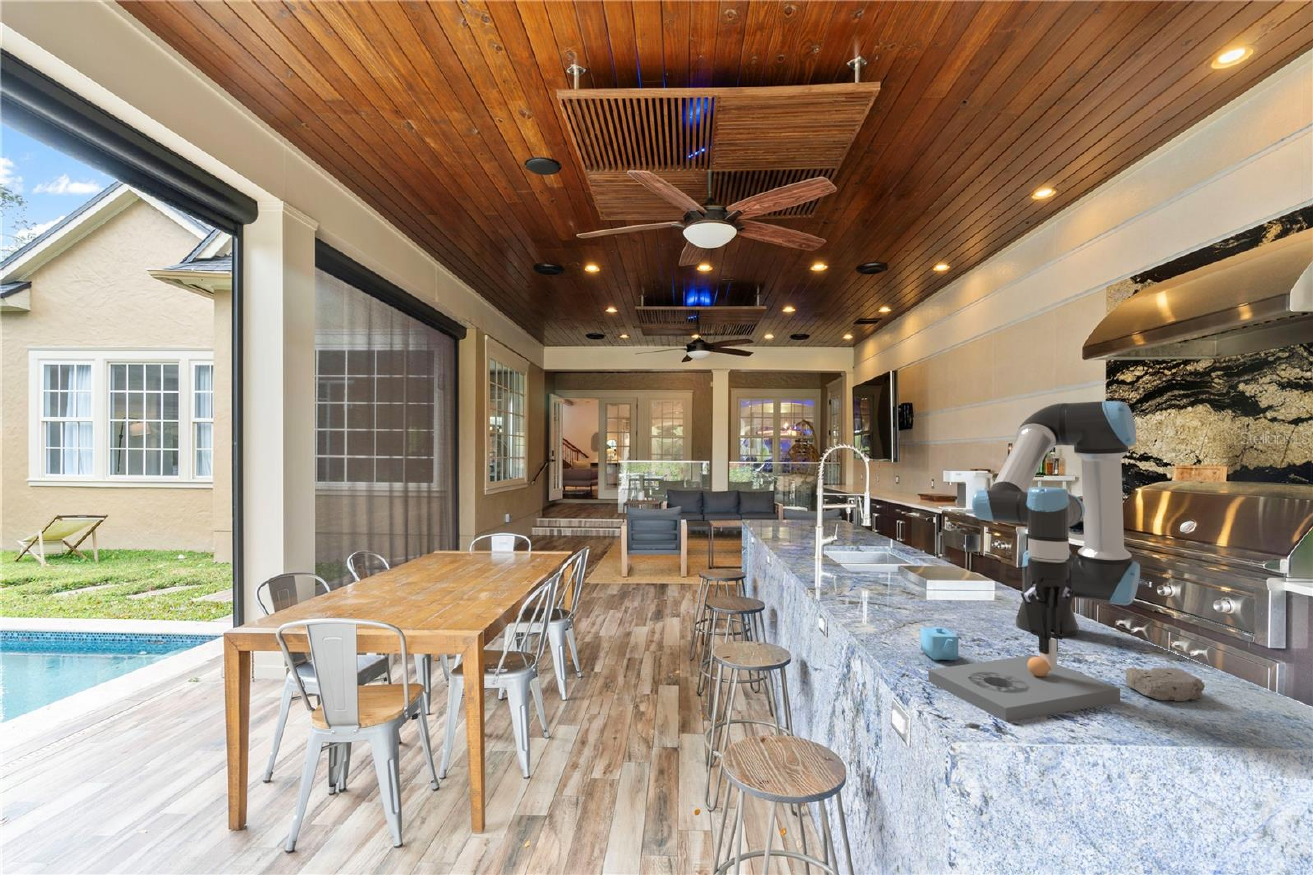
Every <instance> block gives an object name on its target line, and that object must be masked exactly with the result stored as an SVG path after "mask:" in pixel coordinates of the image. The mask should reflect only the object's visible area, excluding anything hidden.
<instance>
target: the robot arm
mask: <svg viewBox="0 0 1313 875" xmlns="http://www.w3.org/2000/svg"><path fill="white" fill-rule="evenodd" d="M1015 441H1016V442H1015V443H1014V445H1013V447H1012V449H1011V451H1010V453H1009V454H1008V455H1007V457H1006V460H1005V461H1004V464H1003V466H1001V469H1000V471H999V473H998V475H997V476H996V478H995V479H994V482H993V483H992V485H991V487H990V488H989V489H986V488H985V489H979V490H976V491H975V492H974V494H973V496H972V500H971V507H972V508H971V509H972V512H973V515H974V516H975V517H976V519H978V520H982V521H990V522H997V523H1011V524H1023V525H1027V550H1026V551H1024V552H1023V554H1022V563H1021V564H1022V565H1021V567H1022V568H1021V570H1022V572H1021V574H1022V591H1021V593H1020V597H1021V598H1022V602H1021V603H1020V606H1019V609H1018V612H1017V615H1016V617H1015V626H1016V627H1017V628H1018V629H1020V630H1022V631H1025V632H1028V633H1030V634H1031V635H1034V636H1036V637H1038V651H1039V657H1041V658H1043V659H1044V660H1046V662H1047V663H1048V665H1049V670H1051V671H1053V670H1057V665H1058V651H1059V640H1063V639H1064V638H1074V637H1078V636H1079V634H1080V632H1079V631H1080V629H1079V628H1080V626H1079V624H1078V622H1077V619H1076V617H1075V613H1074V611H1073V607H1072V601H1073V598H1074V599H1080V600H1087V601H1093V602H1099V603H1105V604H1108V605H1120V606H1129V605H1130V604H1132V603H1133V602H1134V600H1135V598H1136V595H1137V592H1138V588H1139V587H1138V586H1139V584H1140V578H1141V565H1140V563H1139V562H1136V561H1133V560H1132V559H1133V557H1132V553H1131V552H1129V551H1128V550H1127V549H1126V548H1125V539H1124V538H1125V537H1124V534H1125V533H1124V509H1123V508H1124V507H1123V505H1124V504H1123V472H1122V471H1123V469H1122V467H1123V466H1122V459H1123V457H1125V456H1126V455H1127V454H1128V453H1129V447H1133V446H1134V445H1136V443H1137V429H1136V422H1135V419H1134V415H1133V412H1132V410H1131V407H1129V405H1128V404H1127V403H1126V402H1124V401H1118V400H1117V401H1113V400H1109V401H1108V400H1102V401H1101V400H1100V401H1085V402H1084V401H1083V402H1061V403H1059V402H1058V403H1054V404H1050V405H1048V406H1046V407H1043V408H1041V409H1039V410H1038V411H1036V412H1034V413H1033V414H1031V415H1030V416H1029V417H1027V418H1026V419H1025V420H1024V421H1023V422H1022V423H1021V424H1020V426H1019V427H1018V429H1017V431H1016V434H1015ZM1057 446H1071V447H1073V453H1074V454H1075V455H1076V456H1078V457H1079V458H1080V460H1081V463H1080V464H1081V485H1082V486H1081V492H1082V500H1081V498H1079V497H1078V496H1076V495H1074V494H1072V493H1071V494H1070V493H1069V492H1068V490H1067V489H1065V488H1062V487H1052V486H1049V487H1048V486H1033V487H1031V485H1032V483H1033V481H1034V479H1035V477H1036V474H1037V472H1038V470H1039V468H1040V466H1041V464H1042V463H1043V461H1044V459H1045V457H1046V454H1047V453H1049V452H1051V451H1052V450H1053V449H1054V447H1057ZM1080 521H1083V542H1084V543H1083V544H1084V545H1083V546H1082V547H1081V548H1079V549H1078V550H1077V555H1075V554H1072V550H1070V538H1069V537H1070V536H1069V535H1070V533H1069V528H1070V527H1074V526H1076V525H1077V524H1079V523H1080Z"/></svg>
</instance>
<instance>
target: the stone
mask: <svg viewBox="0 0 1313 875" xmlns="http://www.w3.org/2000/svg"><path fill="white" fill-rule="evenodd" d="M1125 685H1126V687H1127V688H1130V689H1133V690H1135V691H1137V692H1138V693H1140V694H1141V695H1144V696H1145V697H1150V698H1152V699H1155V700H1158V701H1171V700H1174V702H1185V701H1186V700H1187V701H1189V700H1191V701H1193V700H1196V699H1199V698H1202V697H1203V691H1204V690H1205V688H1206V687H1205V686H1206V685H1205V683H1204V682H1203V681H1202V679H1200V678H1198V677H1197V676H1195V675H1192V674H1191V673H1189V672H1187V671H1185V670H1183V669H1181V668H1176V667H1172V666H1171V667H1170V666H1169V667H1152V668H1151V670H1150V669H1144V668H1136V667H1128V668H1126V670H1125Z"/></svg>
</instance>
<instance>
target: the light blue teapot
mask: <svg viewBox="0 0 1313 875" xmlns="http://www.w3.org/2000/svg"><path fill="white" fill-rule="evenodd" d="M920 650H921V651H922V652H923V653H925V656H928V657H929V658H930V659H931V660H932V659H933V661H940V660H943V661H944V660H945V661H946V660H947V661H951V662H952V661H954V660H956V661H957V660H958V661H959V636H957V635H956V634H955V633H953V632H952V631H950V630H949V629H947V628H946V627H942V626H935V627H920Z"/></svg>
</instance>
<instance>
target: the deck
mask: <svg viewBox="0 0 1313 875" xmlns="http://www.w3.org/2000/svg"><path fill="white" fill-rule="evenodd" d="M1032 657H1037V656H1036V655H1034V654H1030V655H1024V656H1018V657H1017V656H1016V657H1009V658H1002V659H995V660H988V661H982V662H981V661H980V662H974V663H973V662H972V663H967V664H959V665H952V666H946V667H938V668H933V669H928V670H927V671H928V674H927V676H928V683H930V682H931V683H930V684H931V685H934V686H936V687H938V688H939V687H940V688H939V689H942V690H944V691H946V692H947V691H948V692H947V693H949V694H951V695H953V696H955V697H956V698H959V699H960V700H963V701H964V700H965V702H966V703H968V704H971V705H972V706H974V707H975V708H978V709H980V710H982V711H984V712H986V714H987V713H988V714H989V715H992V716H994V717H996V718H997V719H999V720H1001V721H1003V722H1005V723H1008V722H1013V721H1019V720H1020V721H1021V720H1024V719H1025V720H1026V719H1031V718H1036V717H1037V716H1038V717H1041V716H1042V717H1043V716H1047V715H1048V716H1049V715H1055V714H1060V713H1066V712H1073V711H1077V710H1083V709H1088V708H1090V709H1091V708H1096V707H1101V706H1106V705H1107V706H1108V705H1112V704H1114V705H1115V704H1119V703H1121V688H1120V687H1118V686H1116V685H1113V684H1109V683H1107V682H1104V681H1102V680H1099V679H1097V678H1095V677H1092V676H1089V675H1086V674H1083V673H1080V672H1079V671H1076V670H1074V669H1070V668H1067V667H1065V666H1062V665H1060V664H1057V670H1053V671H1051V670H1049V672H1048V674H1047V675H1045V676H1042V677H1039V676H1035V675H1033V674H1032V673H1031V672H1030V671H1029V669H1028V666H1027V664H1028V661H1029V659H1031V658H1032Z"/></svg>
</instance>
